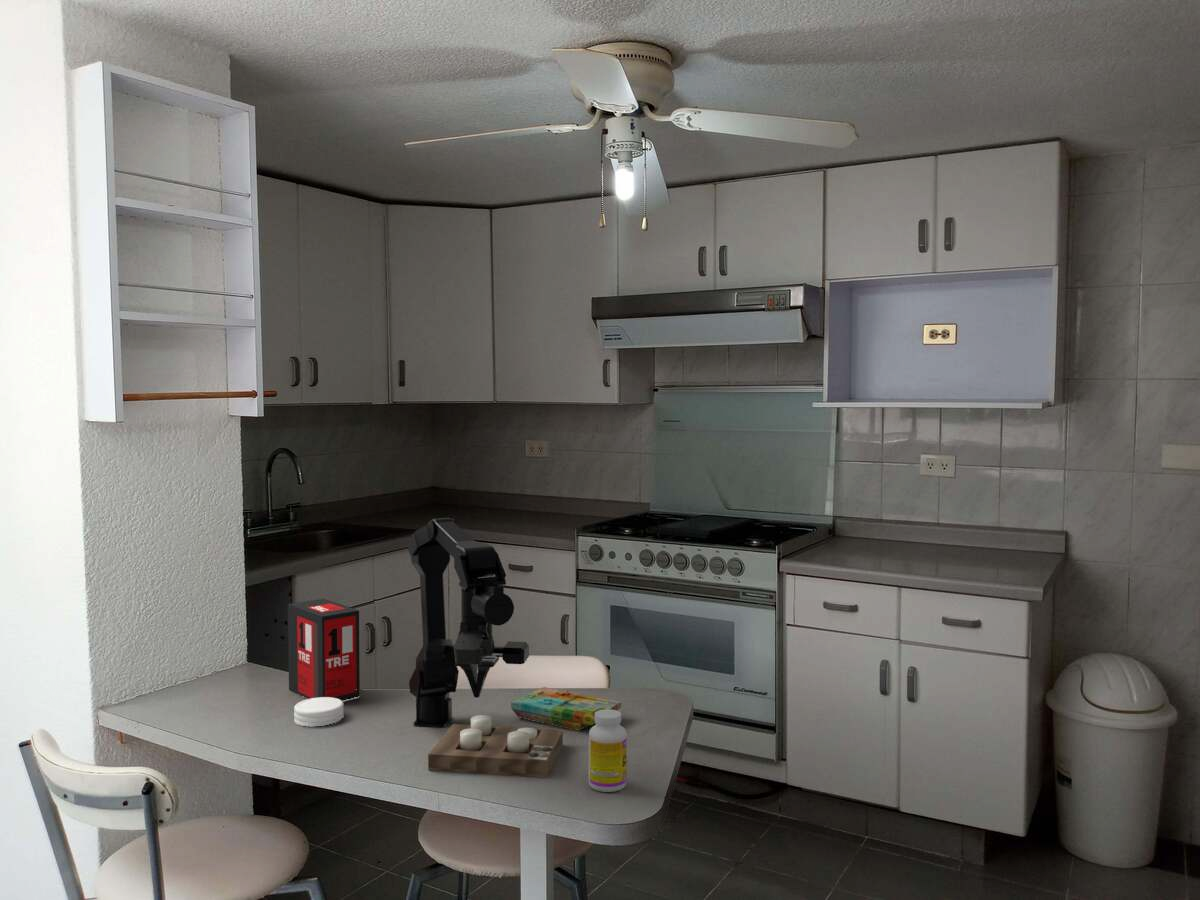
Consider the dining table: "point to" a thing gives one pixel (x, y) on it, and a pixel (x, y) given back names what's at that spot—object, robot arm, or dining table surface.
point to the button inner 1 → (482, 724)
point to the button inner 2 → (530, 732)
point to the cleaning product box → (323, 649)
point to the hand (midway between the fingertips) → (477, 696)
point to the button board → (496, 753)
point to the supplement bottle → (607, 752)
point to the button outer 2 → (518, 742)
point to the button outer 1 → (470, 739)
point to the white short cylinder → (318, 711)
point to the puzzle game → (561, 707)
